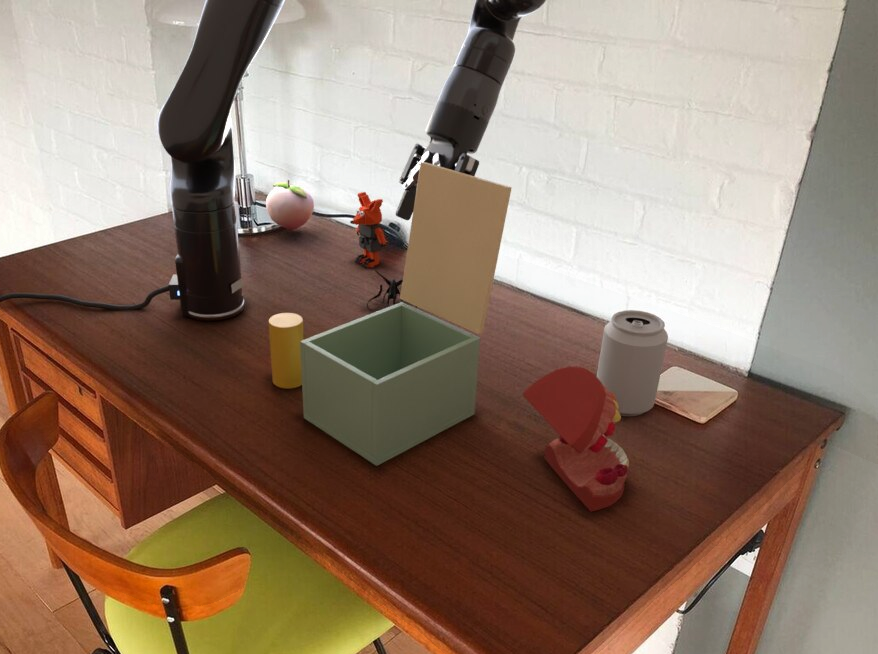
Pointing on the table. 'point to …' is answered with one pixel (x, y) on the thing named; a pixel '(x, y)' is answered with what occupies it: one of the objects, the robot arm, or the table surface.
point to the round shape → (286, 349)
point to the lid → (454, 245)
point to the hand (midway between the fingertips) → (416, 223)
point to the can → (632, 359)
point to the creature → (389, 291)
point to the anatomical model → (582, 434)
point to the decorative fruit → (289, 205)
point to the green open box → (389, 380)
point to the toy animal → (369, 230)
